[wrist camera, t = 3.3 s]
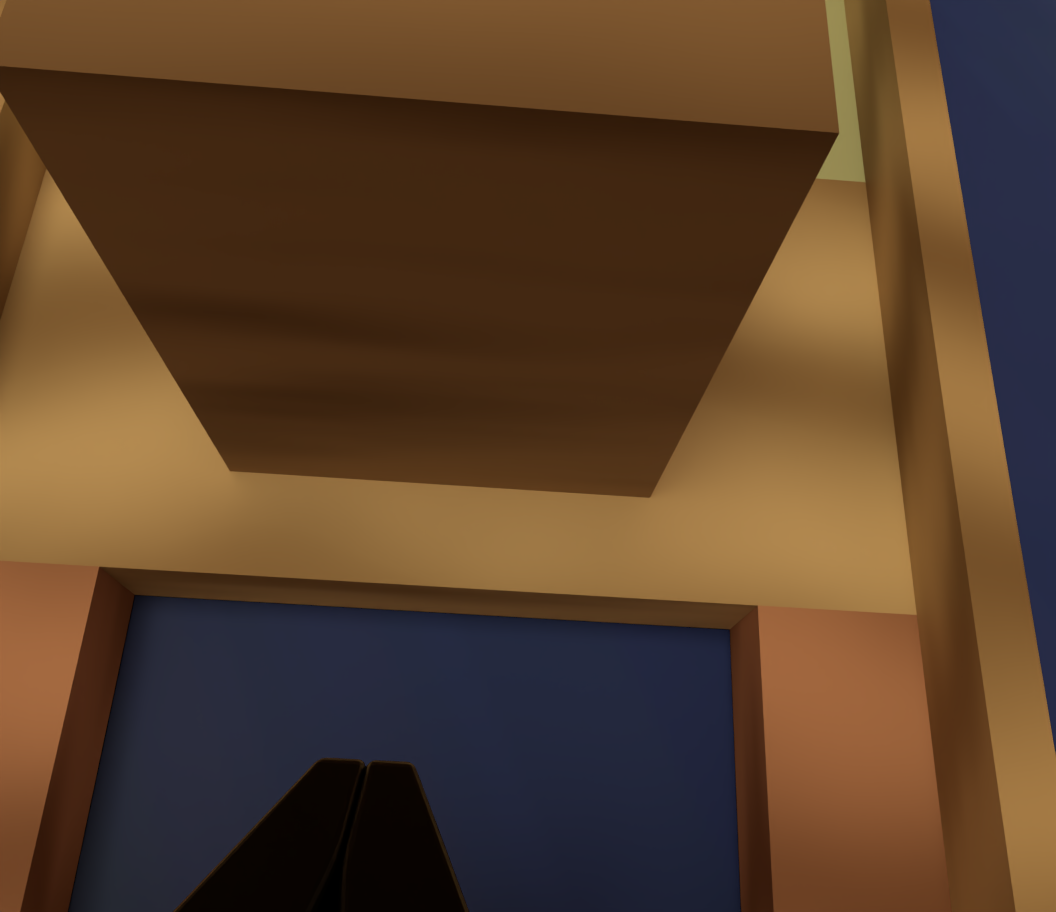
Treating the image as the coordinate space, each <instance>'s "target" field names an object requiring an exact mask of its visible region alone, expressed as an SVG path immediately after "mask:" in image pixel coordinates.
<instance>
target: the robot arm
mask: <svg viewBox="0 0 1056 912" xmlns="http://www.w3.org/2000/svg"><path fill="white" fill-rule="evenodd" d="M173 912H469V910H468V907H467V904H466V901H465V899H464V896H463V893H462V891H461V888H460V885H459V883H458V880H457V877H456V875H455V872H454V869H453V867H452V864H451V861H450V858H449V856H448V853H447V850H446V848H445V845H444V842H443V840H442V837H441V834H440V832H439V829H438V826H437V823H436V821H435V818H434V815H433V813H432V810H431V807H430V805H429V802H428V799H427V797H426V794H425V791H424V789H423V786H422V783H421V780H420V778H419V775H418V772H417V770H416V768H415V767H414V765H413V764H411V763H410V762H399V761H380V760H375V761H372V762H370V763H369V764H368V765H367V767H366V766H365V764H364V762H363V761H361V760H358V759H340V758H322V759H320V760H318V761H316V762H315V763H314V764H313V765H312V766H311V767H310V768H309V769H308V771H307V772H306V773H305V774H304V775H303V776H302V777H301V778H300V779H299V780H298V781H297V782H296V783H295V784H294V785H293V786H292V787H291V788H290V789H289V790H288V792H287V793H286V794H285V795H284V796H283V797H282V798H281V799H280V800H279V801H278V802H277V803H276V804H275V805H274V806H273V807H272V808H271V809H270V810H269V811H268V813H267V814H266V815H265V816H264V817H263V818H262V819H261V820H260V821H259V822H258V823H257V824H256V825H255V826H254V827H253V828H252V829H251V830H250V831H249V832H248V833H247V835H246V836H245V837H244V838H243V839H242V840H241V841H240V842H239V843H238V844H237V845H236V846H235V847H234V848H233V849H232V850H231V851H230V852H229V853H228V854H227V856H226V857H225V858H224V859H223V860H222V861H221V862H220V863H219V864H218V865H217V866H216V867H215V868H214V869H213V870H212V871H211V872H210V873H209V874H208V875H207V877H206V878H205V879H204V880H203V881H202V882H201V883H200V884H199V885H198V886H197V887H196V888H195V889H194V890H193V891H192V892H191V893H190V894H189V895H188V896H187V898H186V899H185V900H184V901H183V902H182V903H181V904H180V905H179V906H178V907H177V908H176V909H175V910H174V911H173Z"/></svg>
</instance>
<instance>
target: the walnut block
mask: <svg viewBox="0 0 1056 912" xmlns="http://www.w3.org/2000/svg"><path fill="white" fill-rule="evenodd" d="M0 93H1V94H2V96H3V98H4V99H5V101H6V103H7V104H8V106H9V108H10V109H11V111H12V112H13V114H14V116H15V117H16V119H17V121H18V122H19V124H20V126H21V127H22V129H23V131H24V132H25V134H26V136H27V137H28V139H29V141H30V142H31V144H32V145H33V147H34V149H35V150H36V152H37V154H38V155H39V157H40V159H41V160H42V162H43V164H44V165H45V167H46V169H47V170H48V172H49V174H50V175H51V177H52V178H53V180H54V182H55V183H56V185H57V187H58V188H59V190H60V192H61V193H62V195H63V197H64V198H65V200H66V202H67V203H68V205H69V207H70V208H71V210H72V211H73V213H74V215H75V216H76V218H77V220H78V221H79V223H80V225H81V226H82V228H83V230H84V231H85V233H86V235H87V236H88V238H89V240H90V241H91V243H92V244H93V246H94V248H95V249H96V251H97V253H98V254H99V256H100V258H101V259H102V261H103V263H104V264H105V266H106V268H107V269H108V271H109V273H110V274H111V276H112V277H113V279H114V281H115V282H116V284H117V286H118V287H119V289H120V291H121V292H122V294H123V296H124V297H125V299H126V301H127V302H128V304H129V305H130V307H131V309H132V310H133V312H134V314H135V315H136V317H137V319H138V320H139V322H140V324H141V325H142V327H143V329H144V330H145V332H146V334H147V335H148V337H149V338H150V340H151V342H152V343H153V345H154V347H155V348H156V350H157V352H158V353H159V355H160V357H161V358H162V360H163V362H164V363H165V365H166V367H167V368H168V370H169V371H170V373H171V375H172V376H173V378H174V380H175V381H176V383H177V385H178V386H179V388H180V390H181V391H182V393H183V395H184V396H185V398H186V400H187V401H188V403H189V404H190V406H191V408H192V409H193V411H194V413H195V414H196V416H197V418H198V419H199V421H200V423H201V424H202V426H203V428H204V429H205V431H206V433H207V434H208V436H209V437H210V439H211V441H212V442H213V444H214V446H215V447H216V449H217V451H218V452H219V454H220V456H221V457H222V459H223V461H224V462H225V464H226V466H227V467H228V469H229V470H230V471H234V472H250V473H266V474H282V475H297V476H313V477H329V478H345V479H360V480H376V481H392V482H408V483H423V484H439V485H455V486H471V487H486V488H502V489H518V490H533V491H549V492H565V493H581V494H596V495H612V496H628V497H644V498H650V497H651V495H652V493H653V491H654V489H655V487H656V485H657V483H658V481H659V479H660V477H661V475H662V474H663V472H664V470H665V468H666V466H667V464H668V462H669V460H670V458H671V456H672V454H673V452H674V450H675V449H676V447H677V445H678V443H679V441H680V439H681V437H682V435H683V433H684V431H685V429H686V427H687V425H688V424H689V422H690V420H691V418H692V416H693V414H694V412H695V410H696V408H697V406H698V404H699V402H700V400H701V398H702V397H703V395H704V393H705V391H706V389H707V387H708V385H709V383H710V381H711V379H712V377H713V375H714V373H715V372H716V370H717V368H718V366H719V364H720V362H721V360H722V358H723V356H724V354H725V352H726V350H727V348H728V347H729V345H730V343H731V341H732V339H733V337H734V335H735V333H736V331H737V329H738V327H739V325H740V323H741V321H742V320H743V318H744V316H745V314H746V312H747V310H748V308H749V306H750V304H751V302H752V300H753V298H754V296H755V295H756V293H757V291H758V289H759V287H760V285H761V283H762V281H763V279H764V277H765V275H766V273H767V271H768V270H769V268H770V266H771V264H772V262H773V260H774V258H775V256H776V254H777V252H778V250H779V248H780V246H781V244H782V243H783V241H784V239H785V237H786V235H787V233H788V231H789V229H790V227H791V225H792V223H793V221H794V219H795V218H796V216H797V214H798V212H799V210H800V208H801V206H802V204H803V202H804V200H805V198H806V196H807V194H808V193H809V191H810V189H811V187H812V185H813V183H814V181H815V179H816V177H817V175H818V173H819V171H820V169H821V167H822V166H823V164H824V162H825V160H826V158H827V156H828V154H829V152H830V150H831V148H832V146H833V144H834V142H835V141H836V139H837V137H838V135H839V124H838V115H837V106H836V97H835V87H834V78H833V69H832V60H831V50H830V41H829V32H828V23H827V13H826V4H825V0H6V3H5V5H4V8H3V11H2V14H1V17H0Z"/></svg>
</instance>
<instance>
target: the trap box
mask: <svg viewBox="0 0 1056 912" xmlns="http://www.w3.org/2000/svg"><path fill="white" fill-rule="evenodd" d="M5 3H6V0H0V17H1V14H2V11H3V8H4V5H5ZM825 4H826V13H827V23H828V32H829V41H830V50H831V60H832V69H833V78H834V87H835V97H836V106H837V115H838V124H839V135H838V137H837V139H836V141H835V142H834V144H833V146H832V148H831V150H830V152H829V154H828V156H827V158H826V160H825V162H824V164H823V166H822V167H821V169H820V171H819V173H818V175H817V177H816V179H815V181H814V183H813V185H812V187H811V189H810V191H809V193H808V194H807V196H806V198H805V200H804V202H803V204H802V206H801V208H800V210H799V212H798V214H797V216H796V218H795V219H794V221H793V223H792V225H791V227H790V229H789V231H788V233H787V235H786V237H785V239H784V241H783V243H782V244H781V246H780V248H779V250H778V252H777V254H776V256H775V258H774V260H773V262H772V264H771V266H770V268H769V270H768V271H767V273H766V275H765V277H764V279H763V281H762V283H761V285H760V287H759V289H758V291H757V293H756V295H755V296H754V298H753V300H752V302H751V304H750V306H749V308H748V310H747V312H746V314H745V316H744V318H743V320H742V321H741V323H740V325H739V327H738V329H737V331H736V333H735V335H734V337H733V339H732V341H731V343H730V345H729V347H728V348H727V350H726V352H725V354H724V356H723V358H722V360H721V362H720V364H719V366H718V368H717V370H716V372H715V373H714V375H713V377H712V379H711V381H710V383H709V385H708V387H707V389H706V391H705V393H704V395H703V397H702V398H701V400H700V402H699V404H698V406H697V408H696V410H695V412H694V414H693V416H692V418H691V420H690V422H689V424H688V425H687V427H686V429H685V431H684V433H683V435H682V437H681V439H680V441H679V443H678V445H677V447H676V449H675V450H674V452H673V454H672V456H671V458H670V460H669V462H668V464H667V466H666V468H665V470H664V472H663V474H662V475H661V477H660V479H659V481H658V483H657V485H656V487H655V489H654V491H653V493H652V495H651V497H650V498H644V497H628V496H612V495H596V494H581V493H565V492H549V491H533V490H518V489H502V488H486V487H471V486H455V485H439V484H423V483H408V482H392V481H376V480H360V479H345V478H329V477H313V476H297V475H282V474H266V473H250V472H234V471H230V470H229V469H228V467H227V466H226V464H225V462H224V461H223V459H222V457H221V456H220V454H219V452H218V451H217V449H216V447H215V446H214V444H213V442H212V441H211V439H210V437H209V436H208V434H207V433H206V431H205V429H204V428H203V426H202V424H201V423H200V421H199V419H198V418H197V416H196V414H195V413H194V411H193V409H192V408H191V406H190V404H189V403H188V401H187V400H186V398H185V396H184V395H183V393H182V391H181V390H180V388H179V386H178V385H177V383H176V381H175V380H174V378H173V376H172V375H171V373H170V371H169V370H168V368H167V367H166V365H165V363H164V362H163V360H162V358H161V357H160V355H159V353H158V352H157V350H156V348H155V347H154V345H153V343H152V342H151V340H150V338H149V337H148V335H147V334H146V332H145V330H144V329H143V327H142V325H141V324H140V322H139V320H138V319H137V317H136V315H135V314H134V312H133V310H132V309H131V307H130V305H129V304H128V302H127V301H126V299H125V297H124V296H123V294H122V292H121V291H120V289H119V287H118V286H117V284H116V282H115V281H114V279H113V277H112V276H111V274H110V273H109V271H108V269H107V268H106V266H105V264H104V263H103V261H102V259H101V258H100V256H99V254H98V253H97V251H96V249H95V248H94V246H93V244H92V243H91V241H90V240H89V238H88V236H87V235H86V233H85V231H84V230H83V228H82V226H81V225H80V223H79V221H78V220H77V218H76V216H75V215H74V213H73V211H72V210H71V208H70V207H69V205H68V203H67V202H66V200H65V198H64V197H63V195H62V193H61V192H60V190H59V188H58V187H57V185H56V183H55V182H54V180H53V178H52V177H51V175H50V174H49V172H48V170H47V169H46V167H45V165H44V164H43V162H42V160H41V159H40V157H39V155H38V154H37V152H36V150H35V149H34V147H33V145H32V144H31V142H30V141H29V139H28V137H27V136H26V134H25V132H24V131H23V129H22V127H21V126H20V124H19V122H18V121H17V119H16V117H15V116H14V114H13V112H12V111H11V109H10V108H9V106H8V104H7V103H6V101H5V99H4V98H3V96H2V94H1V93H0V912H68V908H69V903H70V898H71V894H72V889H73V884H74V879H75V875H76V870H77V865H78V860H79V856H80V851H81V846H82V842H83V837H84V832H85V827H86V823H87V818H88V813H89V808H90V804H91V799H92V794H93V790H94V785H95V780H96V775H97V771H98V766H99V761H100V756H101V752H102V747H103V742H104V737H105V733H106V728H107V723H108V719H109V714H110V709H111V704H112V700H113V695H114V690H115V685H116V681H117V676H118V671H119V667H120V662H121V657H122V652H123V648H124V643H125V638H126V633H127V629H128V624H129V619H130V614H131V610H132V605H133V600H134V596H135V595H147V596H164V597H182V598H199V599H216V600H233V601H250V602H268V603H285V604H302V605H319V606H337V607H354V608H371V609H388V610H405V611H423V612H440V613H457V614H474V615H492V616H509V617H526V618H543V619H561V620H578V621H595V622H612V623H629V624H647V625H664V626H681V627H698V628H716V629H730V646H731V671H732V696H733V721H734V746H735V771H736V796H737V821H738V846H739V871H740V896H741V912H1056V755H1055V749H1054V743H1053V737H1052V731H1051V725H1050V719H1049V713H1048V707H1047V701H1046V695H1045V689H1044V684H1043V678H1042V672H1041V666H1040V660H1039V654H1038V648H1037V642H1036V636H1035V630H1034V624H1033V618H1032V612H1031V606H1030V600H1029V594H1028V588H1027V582H1026V576H1025V570H1024V564H1023V558H1022V552H1021V546H1020V540H1019V534H1018V528H1017V522H1016V516H1015V510H1014V504H1013V498H1012V492H1011V486H1010V480H1009V474H1008V468H1007V462H1006V456H1005V450H1004V444H1003V438H1002V432H1001V426H1000V420H999V414H998V408H997V402H996V396H995V390H994V384H993V378H992V372H991V366H990V360H989V354H988V348H987V342H986V336H985V330H984V324H983V318H982V312H981V306H980V300H979V294H978V288H977V282H976V276H975V270H974V264H973V258H972V252H971V246H970V240H969V234H968V228H967V222H966V217H965V211H964V205H963V199H962V193H961V187H960V181H959V175H958V169H957V163H956V157H955V151H954V145H953V139H952V133H951V127H950V121H949V115H948V109H947V103H946V97H945V91H944V85H943V79H942V73H941V67H940V61H939V55H938V49H937V43H936V37H935V31H934V25H933V19H932V13H931V7H930V1H929V0H825Z"/></svg>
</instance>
